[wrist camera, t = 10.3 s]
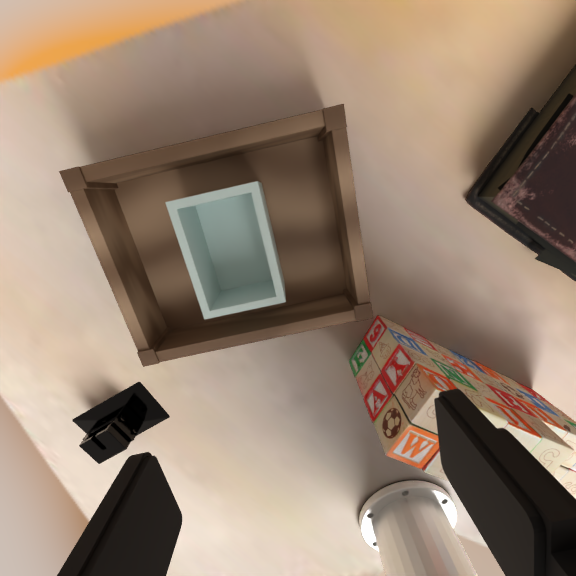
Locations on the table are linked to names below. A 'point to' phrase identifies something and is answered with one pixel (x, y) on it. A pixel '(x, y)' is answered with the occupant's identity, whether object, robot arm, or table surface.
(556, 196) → the diary
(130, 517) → the robot arm
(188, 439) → the table surface
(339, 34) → the table surface
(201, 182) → the big crate
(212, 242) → the small crate
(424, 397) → the stack of blocks
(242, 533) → the table surface
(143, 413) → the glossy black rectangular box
